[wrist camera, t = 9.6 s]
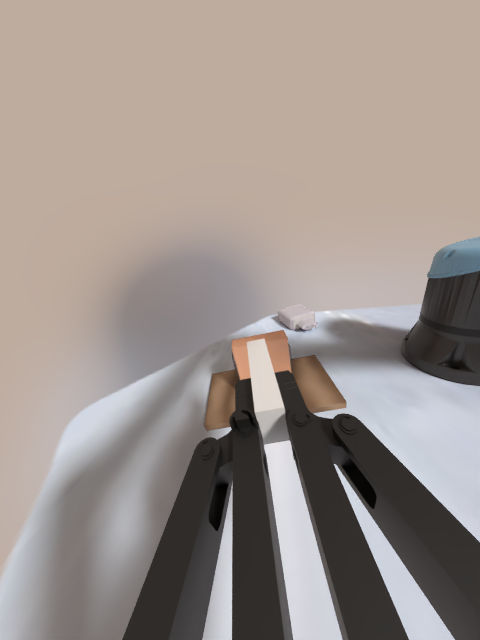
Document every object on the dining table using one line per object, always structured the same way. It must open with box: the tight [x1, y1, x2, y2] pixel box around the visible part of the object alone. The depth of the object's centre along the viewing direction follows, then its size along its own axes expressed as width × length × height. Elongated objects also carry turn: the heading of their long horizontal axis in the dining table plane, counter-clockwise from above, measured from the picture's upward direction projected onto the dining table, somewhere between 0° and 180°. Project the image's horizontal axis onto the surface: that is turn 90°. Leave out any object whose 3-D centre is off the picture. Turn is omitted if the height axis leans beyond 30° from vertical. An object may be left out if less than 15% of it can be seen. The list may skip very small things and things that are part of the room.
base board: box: [204, 355, 346, 431], centre depth 39 cm, size 26×14×2 cm, turn 92°
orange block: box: [232, 330, 291, 380], centre depth 39 cm, size 10×9×12 cm
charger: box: [278, 304, 318, 330], centre depth 61 cm, size 5×9×15 cm
